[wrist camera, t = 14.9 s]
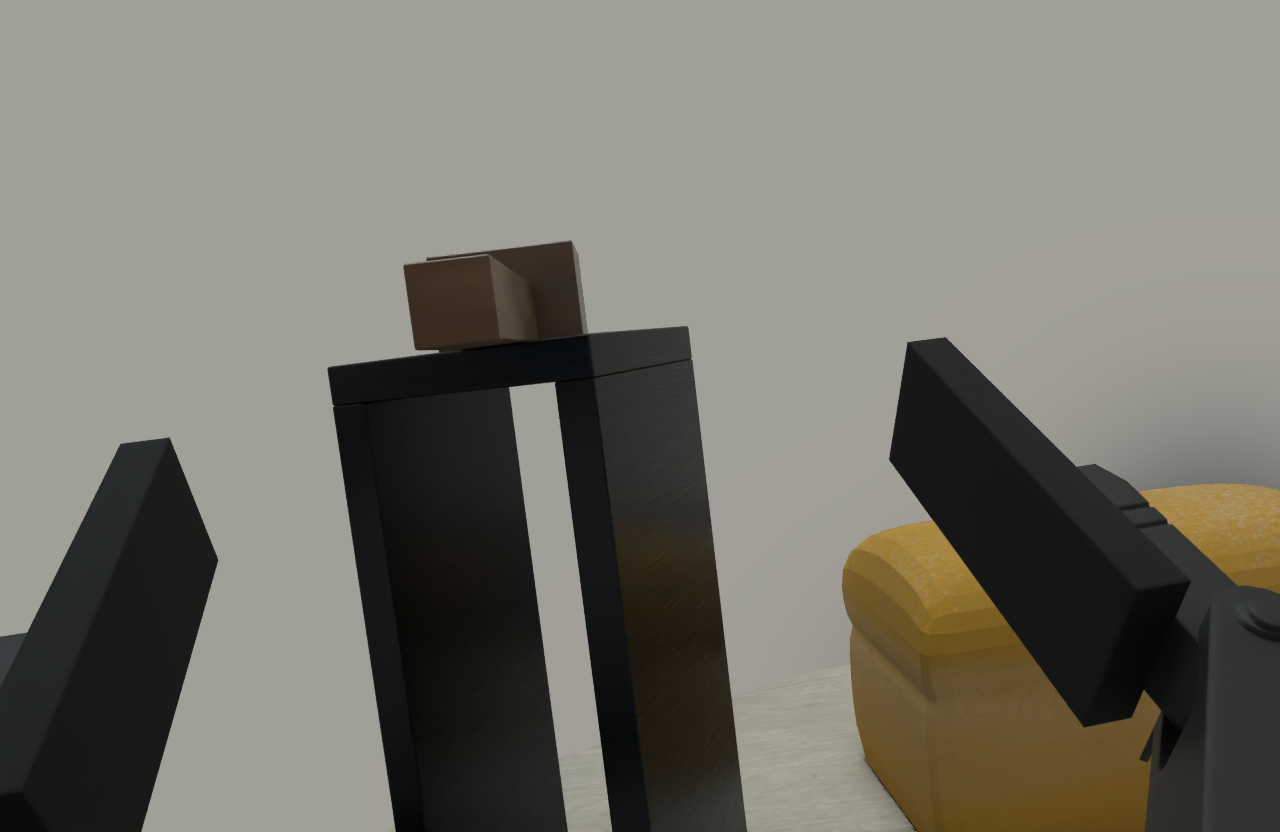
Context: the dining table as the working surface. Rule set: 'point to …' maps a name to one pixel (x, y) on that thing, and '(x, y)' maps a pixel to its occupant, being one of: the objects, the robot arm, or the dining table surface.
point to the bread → (1009, 681)
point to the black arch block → (505, 588)
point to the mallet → (496, 297)
